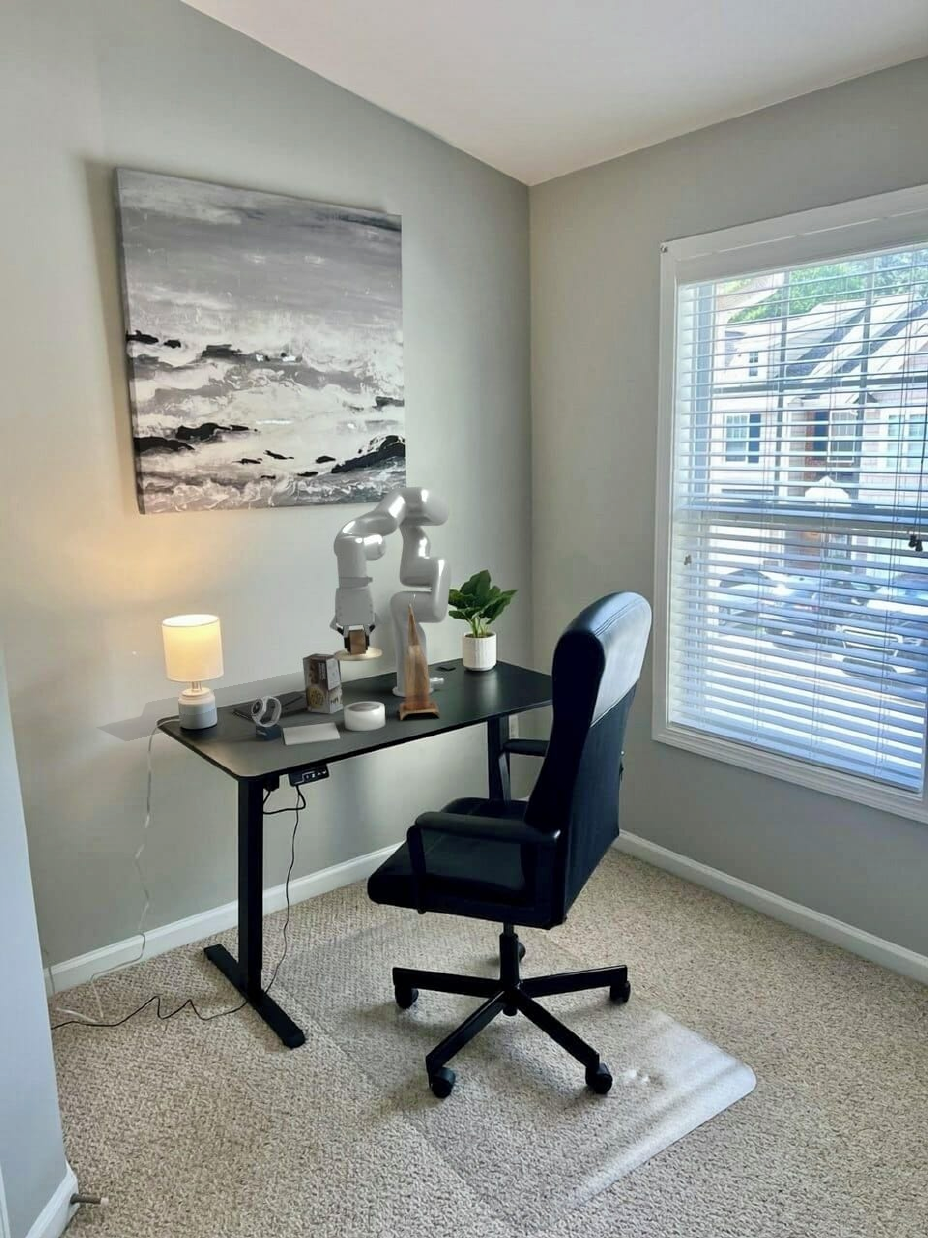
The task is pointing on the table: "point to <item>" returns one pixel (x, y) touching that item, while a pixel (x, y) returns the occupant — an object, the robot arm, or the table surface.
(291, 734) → the mat
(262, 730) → the watch
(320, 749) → the table surface
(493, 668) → the table surface
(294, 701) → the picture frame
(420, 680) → the tan tower model
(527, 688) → the table surface
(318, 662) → the coffee box
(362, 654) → the lid
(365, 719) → the bowl
